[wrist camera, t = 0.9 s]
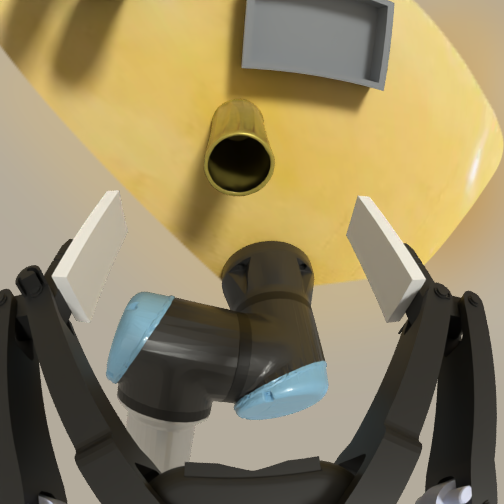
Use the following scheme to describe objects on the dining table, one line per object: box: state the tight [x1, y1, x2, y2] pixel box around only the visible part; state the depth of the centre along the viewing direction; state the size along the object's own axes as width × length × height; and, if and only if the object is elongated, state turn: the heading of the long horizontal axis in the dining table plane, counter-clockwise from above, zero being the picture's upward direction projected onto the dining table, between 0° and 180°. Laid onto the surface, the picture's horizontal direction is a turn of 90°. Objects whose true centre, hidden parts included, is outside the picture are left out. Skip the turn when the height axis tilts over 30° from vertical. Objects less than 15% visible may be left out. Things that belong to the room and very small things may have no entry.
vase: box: [204, 99, 275, 196], centre depth 25 cm, size 6×6×14 cm
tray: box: [241, 0, 394, 91], centre depth 22 cm, size 12×16×4 cm
